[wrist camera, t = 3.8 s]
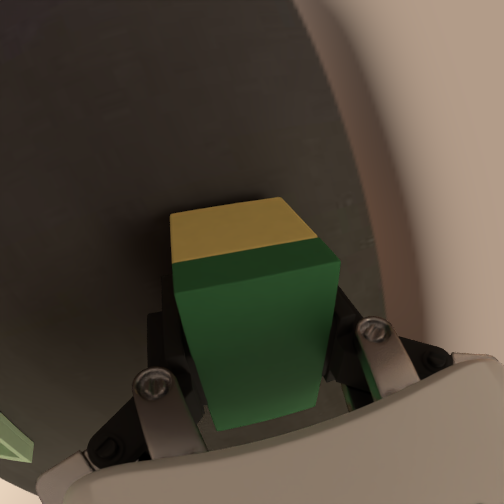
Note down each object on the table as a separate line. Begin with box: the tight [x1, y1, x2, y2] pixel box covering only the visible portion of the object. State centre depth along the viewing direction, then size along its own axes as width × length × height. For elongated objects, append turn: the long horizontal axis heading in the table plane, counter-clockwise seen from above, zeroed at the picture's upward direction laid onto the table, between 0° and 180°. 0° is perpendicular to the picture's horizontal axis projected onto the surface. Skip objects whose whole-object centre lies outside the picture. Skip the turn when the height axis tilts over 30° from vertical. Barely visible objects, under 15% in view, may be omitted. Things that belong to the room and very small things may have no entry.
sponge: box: [170, 197, 341, 431], centre depth 11 cm, size 7×4×4 cm, turn 3°
